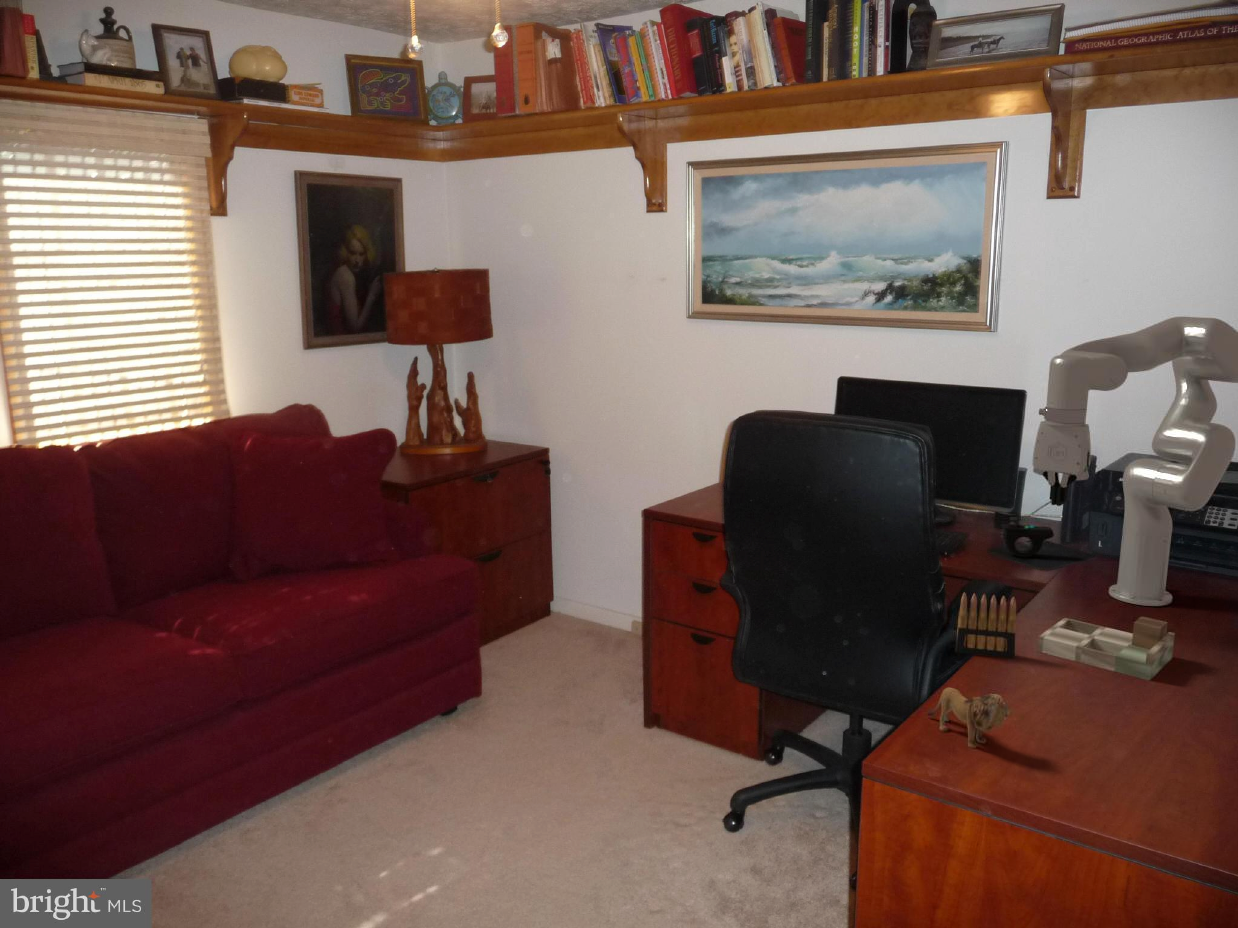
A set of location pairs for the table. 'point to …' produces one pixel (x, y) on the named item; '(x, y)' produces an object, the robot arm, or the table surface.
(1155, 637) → the walnut block
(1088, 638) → the divided compartment tray
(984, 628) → the ammunition clip
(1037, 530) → the controller
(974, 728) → the lion figurine
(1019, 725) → the table surface
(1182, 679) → the table surface
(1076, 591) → the table surface
